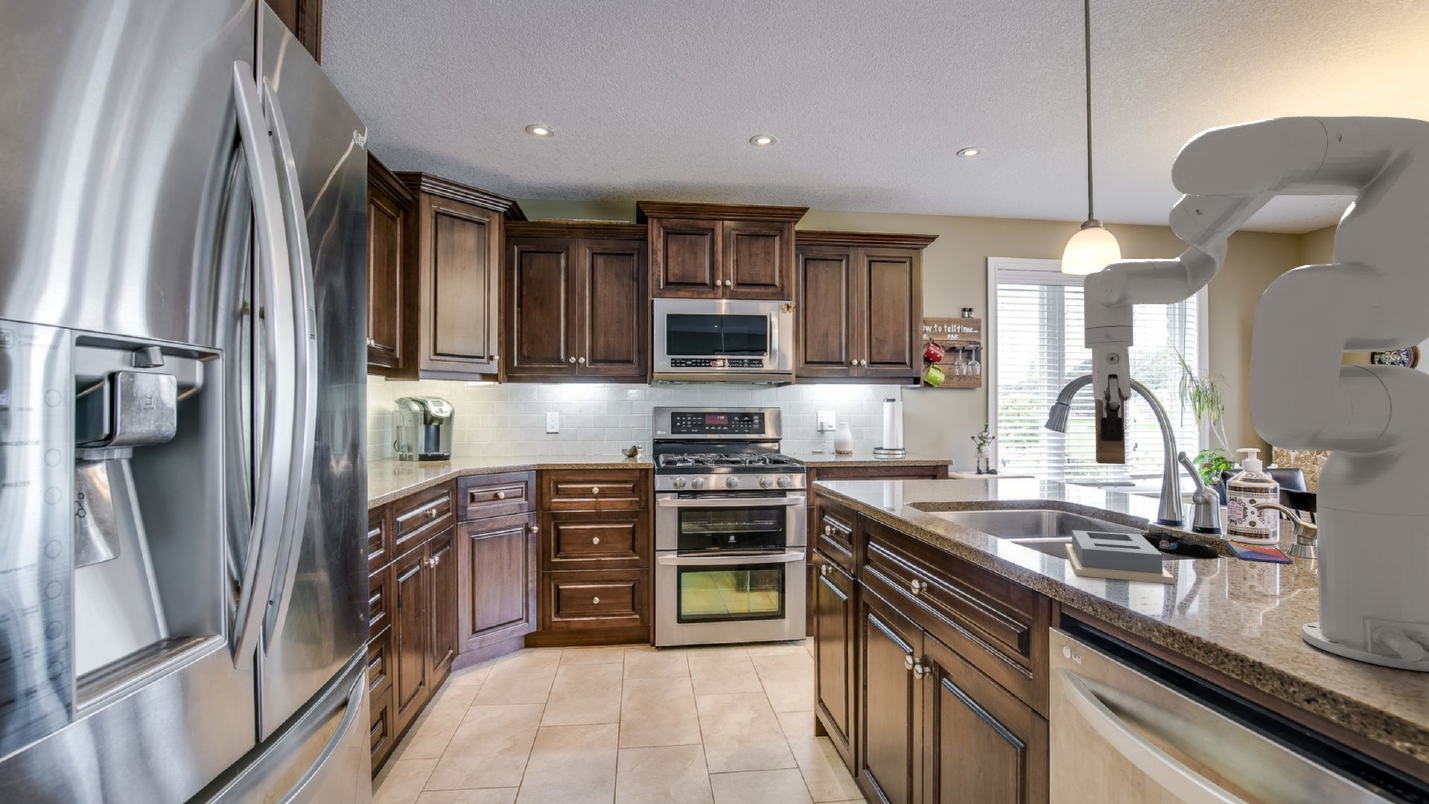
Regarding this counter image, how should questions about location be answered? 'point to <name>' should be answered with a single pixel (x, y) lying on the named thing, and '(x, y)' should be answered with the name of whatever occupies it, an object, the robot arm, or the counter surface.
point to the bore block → (1116, 557)
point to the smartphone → (1258, 553)
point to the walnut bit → (1108, 449)
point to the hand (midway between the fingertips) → (1109, 439)
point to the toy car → (1180, 544)
